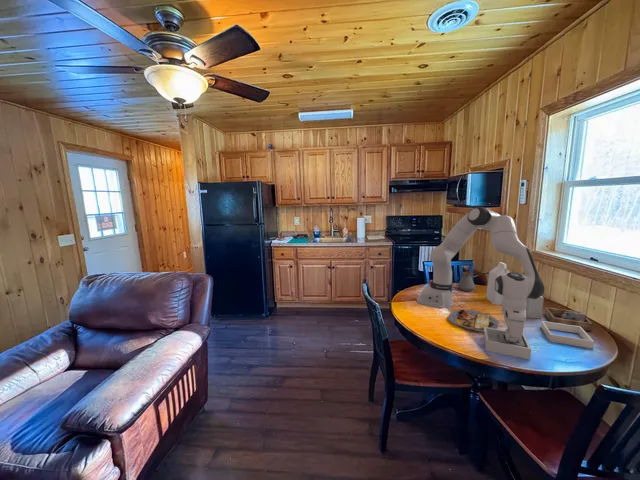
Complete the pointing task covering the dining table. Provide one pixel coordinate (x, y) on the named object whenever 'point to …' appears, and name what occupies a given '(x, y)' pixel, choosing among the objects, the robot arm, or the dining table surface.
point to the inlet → (502, 340)
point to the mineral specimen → (574, 316)
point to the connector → (507, 336)
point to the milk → (493, 274)
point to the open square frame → (583, 342)
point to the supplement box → (534, 307)
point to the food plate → (479, 319)
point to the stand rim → (558, 312)
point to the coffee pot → (468, 281)
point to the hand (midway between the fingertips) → (511, 337)
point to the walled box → (505, 345)
